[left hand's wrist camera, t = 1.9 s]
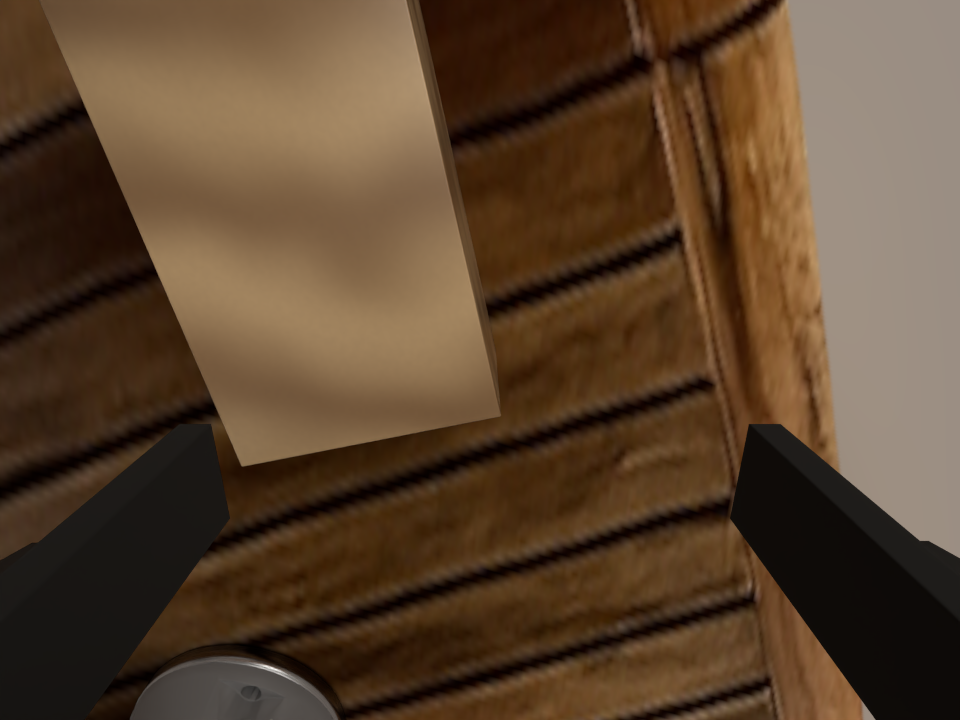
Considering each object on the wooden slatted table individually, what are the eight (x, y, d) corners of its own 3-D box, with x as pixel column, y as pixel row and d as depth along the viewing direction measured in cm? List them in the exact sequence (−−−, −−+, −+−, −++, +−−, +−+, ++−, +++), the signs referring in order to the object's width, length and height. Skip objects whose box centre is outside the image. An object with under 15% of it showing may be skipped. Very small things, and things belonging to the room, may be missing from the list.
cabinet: (155, -20, 23) (-14, -119, 15) (399, -87, 22) (355, -229, 14) (304, 389, 30) (241, 467, 22) (495, 350, 29) (501, 416, 21)
